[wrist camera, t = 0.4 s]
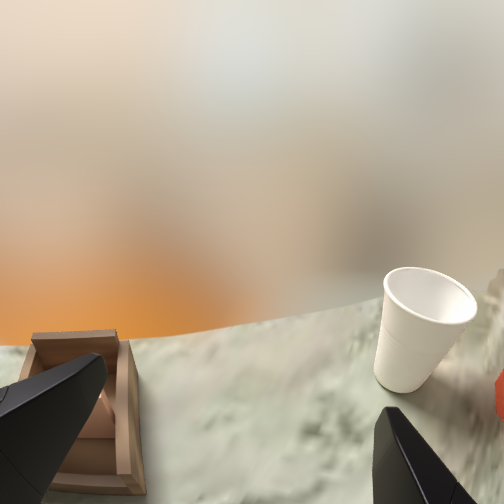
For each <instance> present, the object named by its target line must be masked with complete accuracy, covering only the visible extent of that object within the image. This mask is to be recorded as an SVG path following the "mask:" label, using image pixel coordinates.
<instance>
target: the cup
mask: <svg viewBox="0 0 504 504" xmlns="http://www.w3.org/2000/svg"><path fill="white" fill-rule="evenodd" d="M384 289H385V296H384V304H383V312H382V321H381V328H380V334H379V341H378V347H377V352H376V358H375V363H374V374H375V377H376V378H377V380H378V381H379V382H380V384H381V385H383V386H384V387H385V388H387V389H388V390H390V391H393V392H397V393H410V392H413V391H415V390H417V389H418V388H419V387H420V386H421V385H422V384H423V383H424V382H425V380H426V379H427V378H428V377H429V376H430V374H431V373H432V372H433V371H434V369H435V368H436V367H437V366H438V364H439V363H440V362H441V361H442V359H443V358H444V357H445V355H446V354H447V353H448V351H449V350H450V349H451V347H452V346H453V345H454V344H455V342H456V341H457V339H458V338H459V337H460V335H461V334H462V332H463V331H464V329H465V328H466V327H467V325H468V324H469V322H471V321H472V320H473V319H474V318H475V317H476V314H477V311H478V309H477V303H476V301H475V299H474V297H473V295H472V294H471V293H470V292H469V291H468V290H467V289H466V288H465V287H464V286H463V285H462V284H460V283H459V282H457V281H456V280H454V279H452V278H450V277H448V276H446V275H444V274H441V273H439V272H436V271H433V270H429V269H424V268H417V267H404V268H399V269H395V270H393V271H391V272H389V274H387V275H386V277H385V279H384Z"/></svg>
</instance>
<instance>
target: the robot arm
mask: <svg viewBox="0 0 504 504" xmlns="http://www.w3.org/2000/svg"><path fill="white" fill-rule="evenodd" d="M107 378H108V371H107V368H106V364H105V361H104V358H103V356H102V355H99V354H96V353H93V352H92V353H89V354H86V355H84V356H82V357H79V358H77V359H74V360H72V361H69V362H67V363H64V364H62V365H59V366H57V367H54V368H52V369H49V370H47V371H44V372H42V373H39V374H37V375H34V376H32V377H29V378H26V379H24V380H21V381H19V382H16V383H13V384H11V385H9V386H6V387H3V388H0V504H41V502H42V500H43V497H44V496H45V494H46V492H47V490H48V488H49V486H50V485H51V483H52V481H53V479H54V477H55V475H56V474H57V472H58V470H59V468H60V466H61V465H62V463H63V461H64V459H65V458H66V456H67V454H68V452H69V451H70V449H71V447H72V445H73V444H74V442H75V440H76V439H77V437H78V435H79V433H80V432H81V430H82V428H83V427H84V425H85V423H86V422H87V420H88V418H89V417H90V415H91V413H92V411H93V409H94V407H95V405H96V403H97V400H98V398H99V396H100V394H101V392H102V390H103V387H104V385H105V383H106V381H107ZM372 478H373V504H477V503H476V502H475V501H474V500H473V499H472V497H471V496H470V495H469V494H468V493H467V492H466V490H465V489H464V488H463V487H462V485H461V484H460V483H459V482H457V479H456V478H455V477H454V476H453V474H452V473H451V472H450V471H449V469H448V468H447V467H446V466H445V464H444V463H443V462H442V461H441V459H440V458H439V457H438V456H437V454H436V453H435V452H434V451H433V449H432V448H431V447H430V446H429V445H428V443H427V442H426V441H425V440H424V438H423V437H422V436H421V435H420V433H419V432H418V431H417V430H416V429H415V427H414V426H413V425H412V424H411V422H410V421H409V420H408V419H407V418H406V416H405V415H404V414H403V413H402V411H401V410H400V409H399V408H398V407H385V408H384V409H383V410H382V412H381V414H380V416H379V418H378V420H377V422H376V424H375V429H374V450H373V467H372Z"/></svg>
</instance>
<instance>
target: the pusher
mask: <svg viewBox="0 0 504 504" xmlns="http://www.w3.org/2000/svg"><path fill="white" fill-rule="evenodd" d="M77 438H116V433H115V413H114V411H113V409H112V407H111V405H110V403H109V400H108V398H107V396H106V394H105V392H104V389H103V390H102V392H101V394H100V396H99V398H98V400H97V403H96V405H95V407H94V409H93V411H92V413H91V415H90V417H89V418H88V420H87V422H86V423H85V425H84V427H83V428H82V430H81V432H80V433H79V435H78V437H77Z"/></svg>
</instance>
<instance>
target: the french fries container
mask: <svg viewBox="0 0 504 504" xmlns="http://www.w3.org/2000/svg"><path fill="white" fill-rule="evenodd" d="M495 393H496V413H497V414H498V415H499V417H500V418H501V419H502V421H503V422H504V369H503V371H502V373H501V374H500V376H499V377H498V379H497V380H496V382H495Z"/></svg>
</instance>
